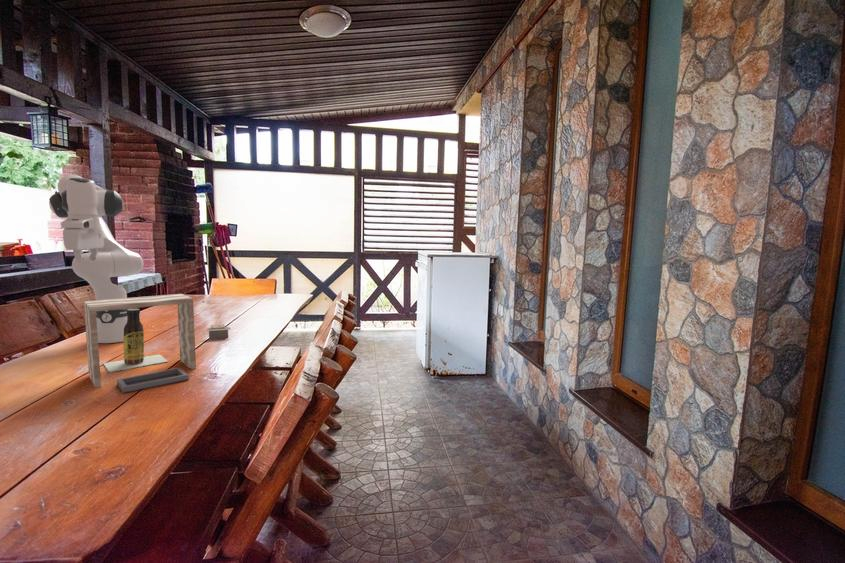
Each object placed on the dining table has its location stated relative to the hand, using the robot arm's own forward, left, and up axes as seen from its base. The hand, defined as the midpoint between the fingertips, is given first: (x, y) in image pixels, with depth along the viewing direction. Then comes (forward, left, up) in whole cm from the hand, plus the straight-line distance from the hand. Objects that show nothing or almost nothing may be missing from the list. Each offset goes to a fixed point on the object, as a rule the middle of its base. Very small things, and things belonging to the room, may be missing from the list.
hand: (86, 261), depth 157 cm
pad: (+7, +17, -37) cm, 41 cm away
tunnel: (+19, +23, -37) cm, 48 cm away
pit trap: (+30, +30, -37) cm, 56 cm away
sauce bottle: (+7, +16, -37) cm, 41 cm away
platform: (-28, +38, -38) cm, 60 cm away
